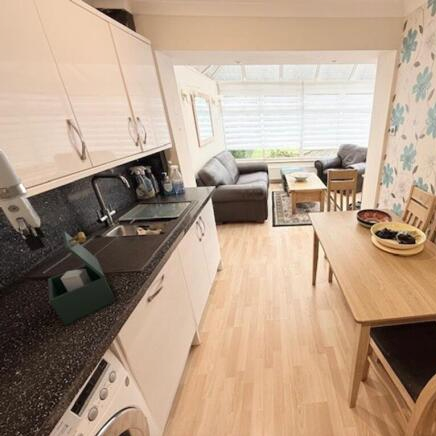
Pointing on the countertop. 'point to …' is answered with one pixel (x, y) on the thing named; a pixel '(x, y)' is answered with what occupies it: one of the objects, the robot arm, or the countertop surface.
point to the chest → (79, 296)
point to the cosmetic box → (75, 279)
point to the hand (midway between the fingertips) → (38, 243)
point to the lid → (82, 252)
